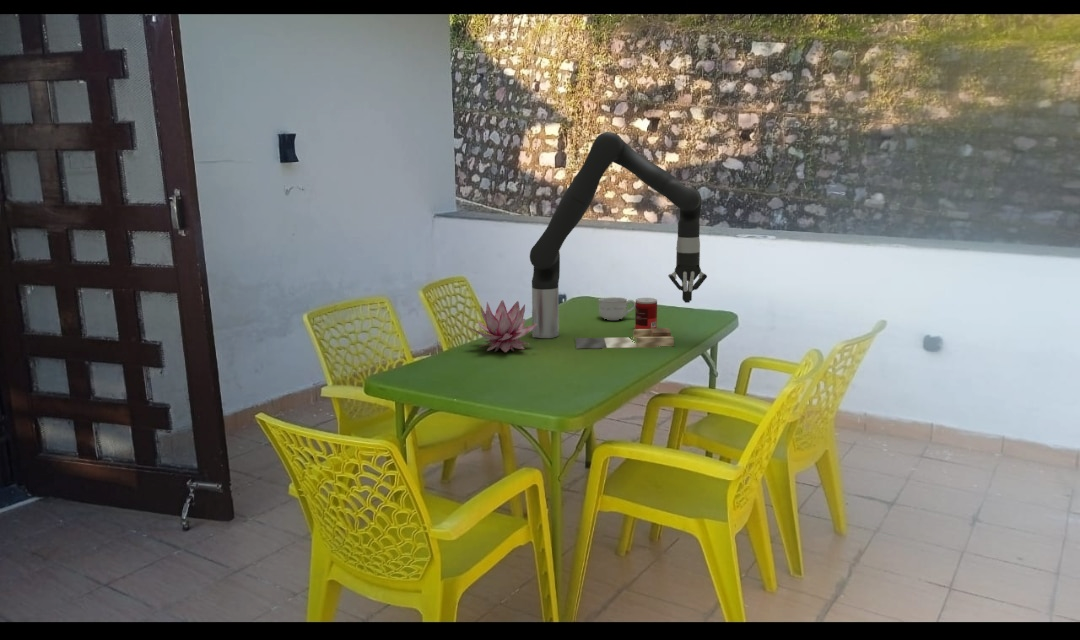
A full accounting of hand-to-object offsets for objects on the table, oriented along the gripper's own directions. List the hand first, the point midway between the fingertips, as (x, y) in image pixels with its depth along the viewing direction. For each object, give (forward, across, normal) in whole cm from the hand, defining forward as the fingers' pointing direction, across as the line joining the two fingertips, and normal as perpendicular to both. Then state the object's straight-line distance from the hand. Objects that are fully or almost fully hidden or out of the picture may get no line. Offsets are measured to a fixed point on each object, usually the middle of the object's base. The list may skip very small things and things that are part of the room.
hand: (687, 302), depth 269 cm
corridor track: (+14, -21, 0) cm, 25 cm away
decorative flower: (+14, -61, -5) cm, 63 cm away
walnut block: (+14, -9, 0) cm, 16 cm away
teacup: (+14, -20, +36) cm, 44 cm away
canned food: (+14, -11, +19) cm, 26 cm away
